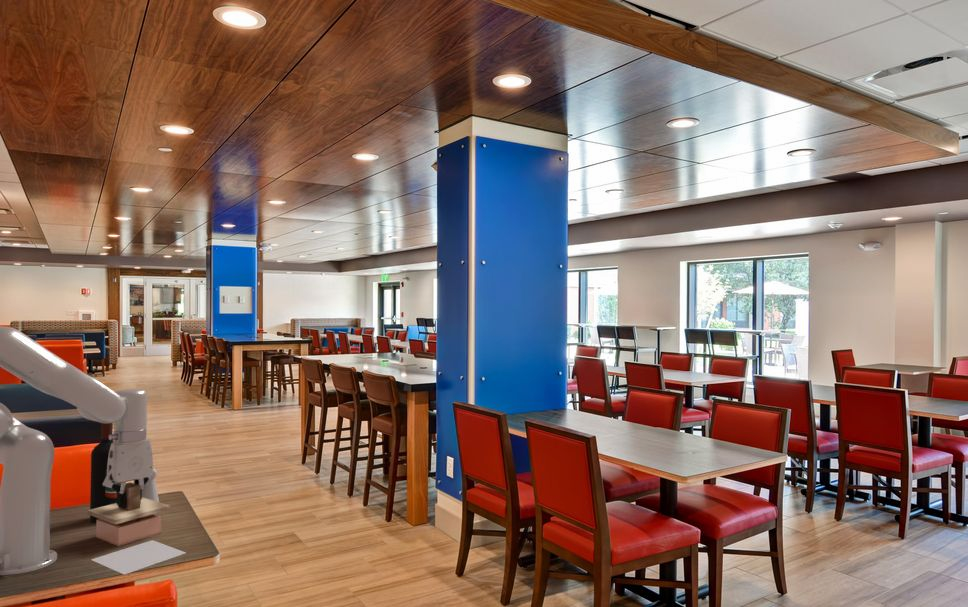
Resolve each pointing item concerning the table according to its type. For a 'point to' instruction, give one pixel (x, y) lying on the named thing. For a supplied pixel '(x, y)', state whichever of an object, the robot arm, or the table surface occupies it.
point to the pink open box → (128, 529)
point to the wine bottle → (101, 472)
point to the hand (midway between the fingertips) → (129, 504)
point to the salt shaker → (151, 489)
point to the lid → (129, 507)
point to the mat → (138, 557)
